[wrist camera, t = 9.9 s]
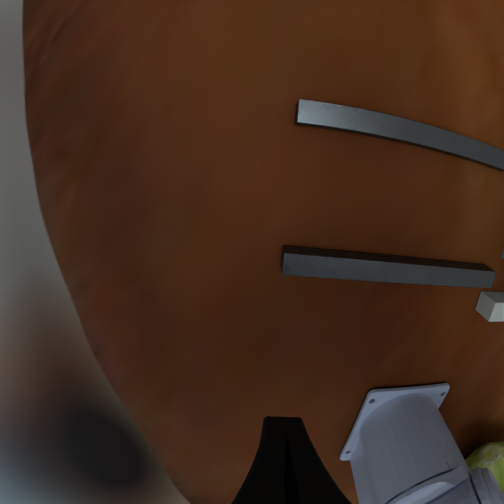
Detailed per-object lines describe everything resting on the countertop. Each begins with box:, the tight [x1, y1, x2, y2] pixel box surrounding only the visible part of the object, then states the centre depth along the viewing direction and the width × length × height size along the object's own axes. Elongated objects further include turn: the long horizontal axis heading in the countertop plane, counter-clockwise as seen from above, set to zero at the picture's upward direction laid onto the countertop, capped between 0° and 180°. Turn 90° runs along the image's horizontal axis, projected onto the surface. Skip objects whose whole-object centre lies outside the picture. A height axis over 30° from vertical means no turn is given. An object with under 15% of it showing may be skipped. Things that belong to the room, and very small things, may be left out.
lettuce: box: [465, 442, 504, 493], centre depth 20 cm, size 14×20×12 cm
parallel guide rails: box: [280, 99, 504, 288], centre depth 16 cm, size 9×15×2 cm, turn 85°
